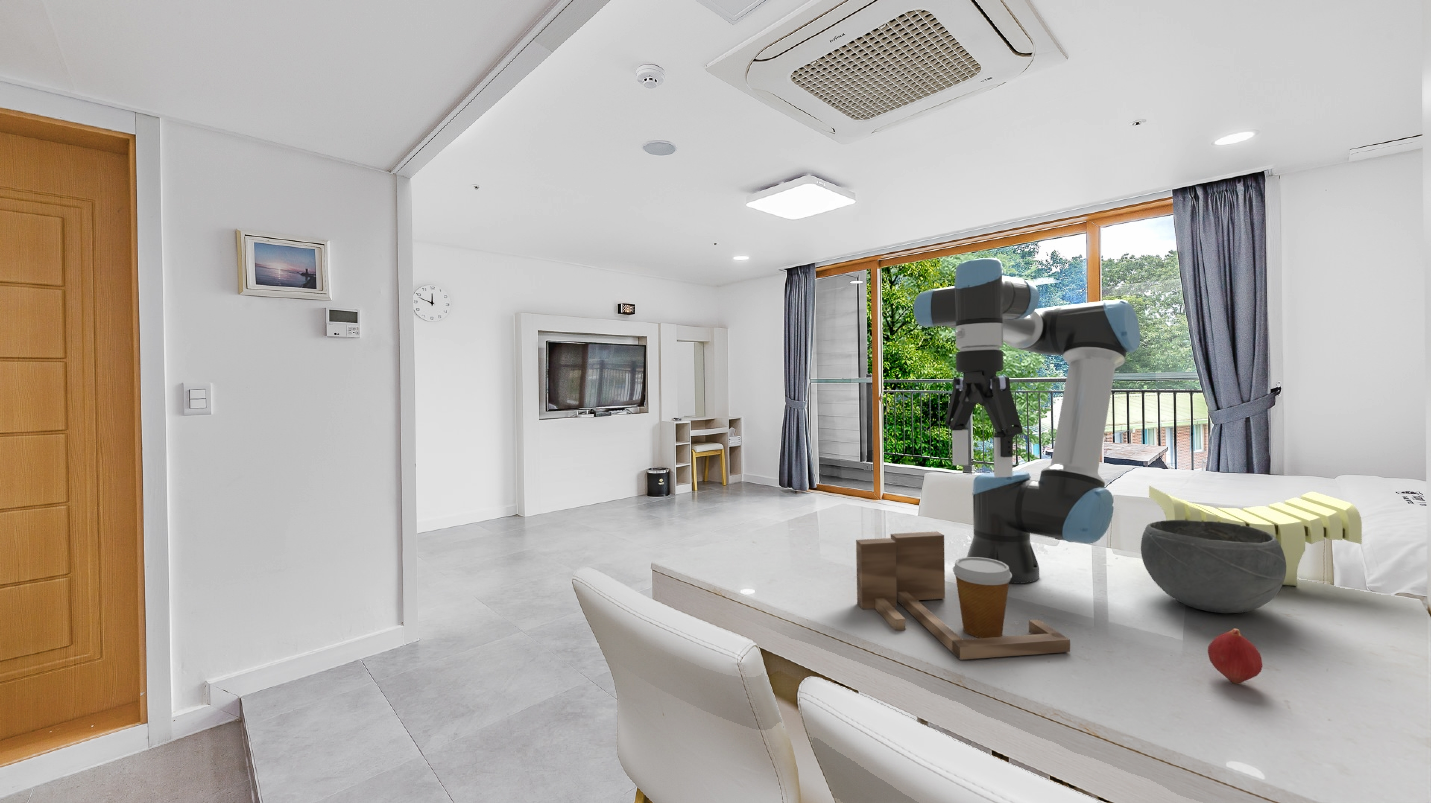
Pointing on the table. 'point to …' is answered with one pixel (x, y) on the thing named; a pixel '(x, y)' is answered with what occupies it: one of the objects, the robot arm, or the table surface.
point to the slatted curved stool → (1279, 521)
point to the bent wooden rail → (926, 580)
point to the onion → (1235, 656)
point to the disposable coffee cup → (982, 595)
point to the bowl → (1214, 564)
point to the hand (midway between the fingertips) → (980, 470)
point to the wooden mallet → (878, 579)
